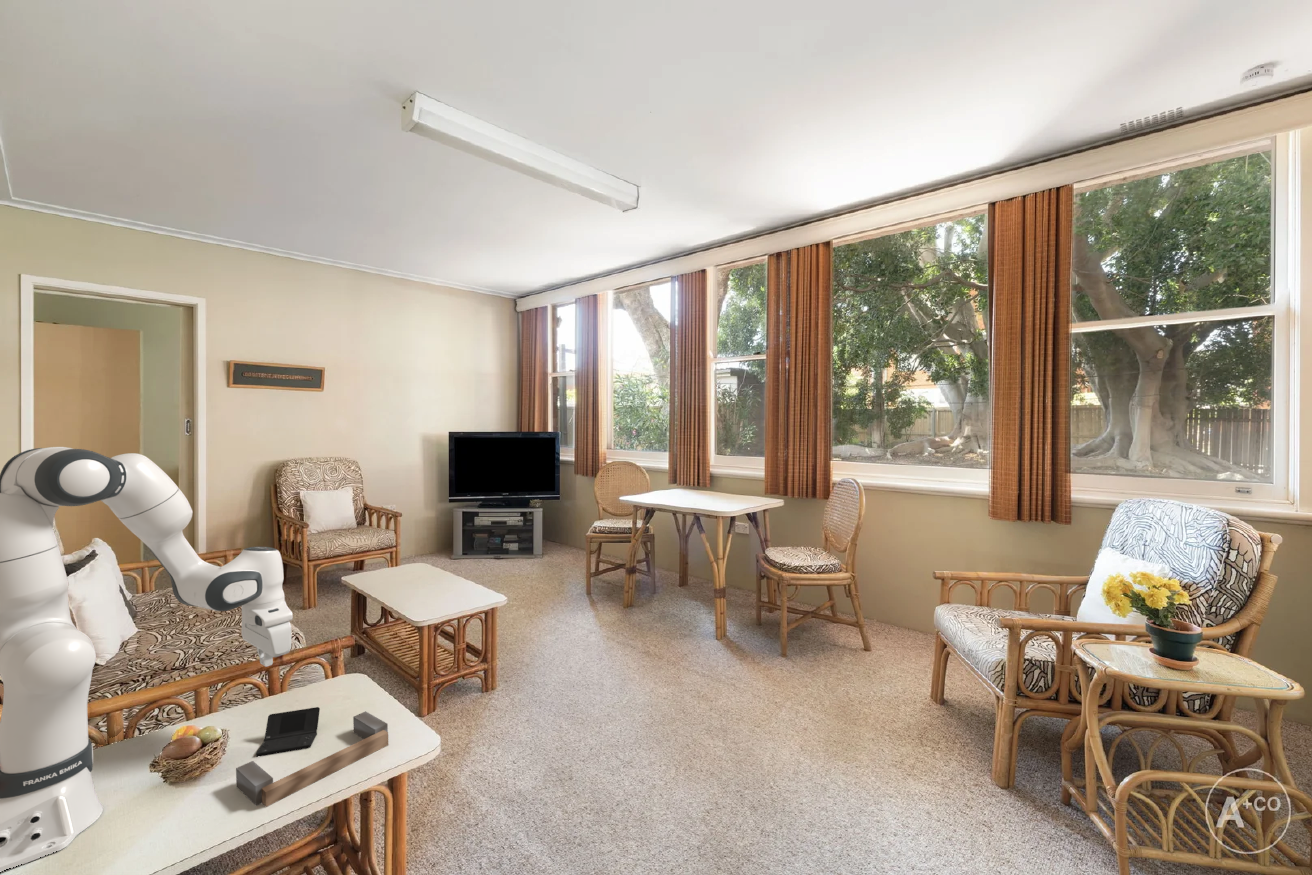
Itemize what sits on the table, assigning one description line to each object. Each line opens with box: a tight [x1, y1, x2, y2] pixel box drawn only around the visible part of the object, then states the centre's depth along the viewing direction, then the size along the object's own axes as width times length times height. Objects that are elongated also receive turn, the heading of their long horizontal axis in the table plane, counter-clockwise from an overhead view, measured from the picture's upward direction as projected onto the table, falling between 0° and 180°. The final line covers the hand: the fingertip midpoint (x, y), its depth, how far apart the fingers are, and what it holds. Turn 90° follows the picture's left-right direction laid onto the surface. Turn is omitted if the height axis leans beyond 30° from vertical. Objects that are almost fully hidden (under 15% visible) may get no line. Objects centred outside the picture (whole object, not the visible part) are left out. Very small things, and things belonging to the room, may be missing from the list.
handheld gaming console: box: [255, 706, 321, 758], centre depth 131 cm, size 12×7×10 cm
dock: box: [235, 711, 389, 807], centre depth 122 cm, size 27×12×4 cm, turn 146°
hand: (266, 664), depth 138 cm, fingers closed
